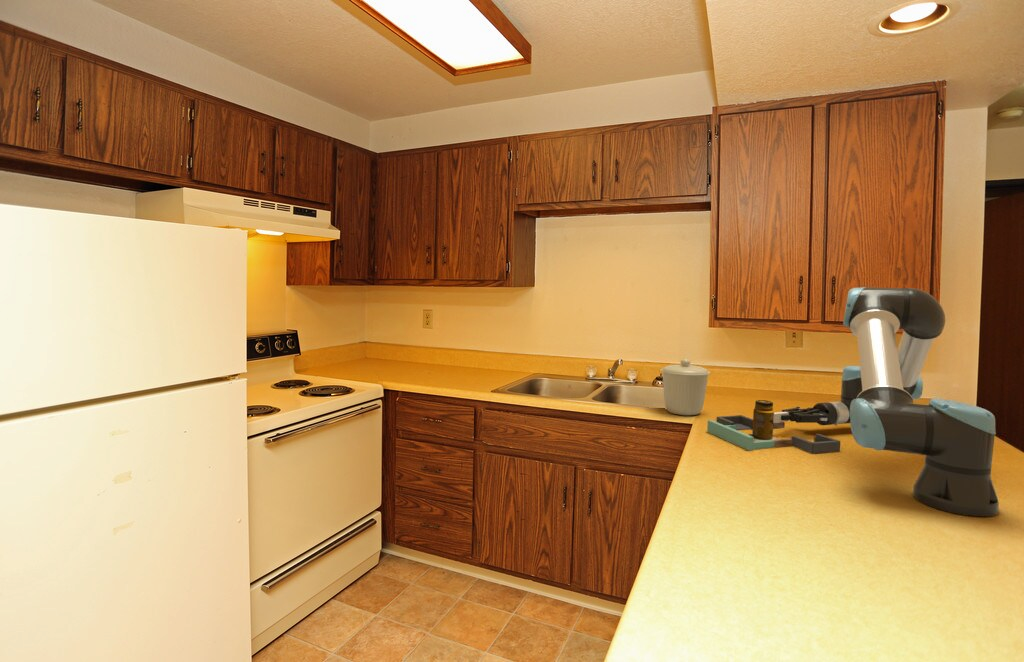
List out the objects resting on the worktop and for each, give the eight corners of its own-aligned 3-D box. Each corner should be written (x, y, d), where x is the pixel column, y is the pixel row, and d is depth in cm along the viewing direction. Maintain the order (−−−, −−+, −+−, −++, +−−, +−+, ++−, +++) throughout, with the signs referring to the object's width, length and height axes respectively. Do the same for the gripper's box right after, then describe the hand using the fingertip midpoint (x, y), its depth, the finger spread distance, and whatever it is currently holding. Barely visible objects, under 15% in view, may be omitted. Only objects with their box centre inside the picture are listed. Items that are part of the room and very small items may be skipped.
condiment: (778, 439, 172) (780, 402, 171) (759, 442, 169) (761, 405, 168) (760, 433, 179) (761, 398, 178) (741, 436, 176) (743, 400, 174)
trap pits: (759, 421, 194) (760, 413, 194) (840, 451, 161) (841, 441, 160) (715, 425, 189) (716, 416, 189) (789, 455, 156) (790, 445, 156)
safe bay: (731, 430, 183) (732, 418, 182) (775, 448, 163) (776, 435, 163) (707, 431, 180) (707, 420, 180) (748, 450, 161) (749, 437, 160)
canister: (659, 416, 200) (661, 361, 198) (658, 405, 218) (660, 354, 216) (711, 420, 196) (713, 363, 194) (705, 408, 213) (707, 356, 211)
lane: (781, 426, 187) (782, 421, 187) (827, 443, 169) (827, 436, 169) (732, 430, 182) (733, 424, 182) (773, 447, 164) (774, 441, 163)
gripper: (845, 429, 175) (784, 434, 169) (813, 419, 188) (756, 423, 182) (846, 407, 174) (786, 410, 168) (814, 398, 187) (757, 401, 181)
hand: (770, 417), depth 175 cm, fingers closed
